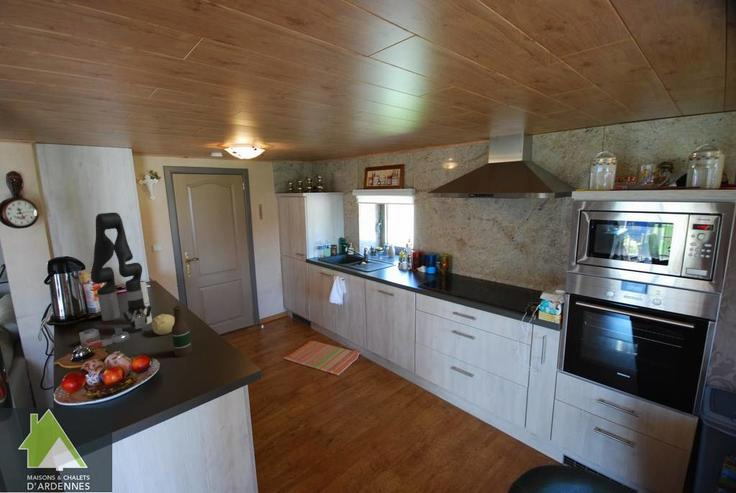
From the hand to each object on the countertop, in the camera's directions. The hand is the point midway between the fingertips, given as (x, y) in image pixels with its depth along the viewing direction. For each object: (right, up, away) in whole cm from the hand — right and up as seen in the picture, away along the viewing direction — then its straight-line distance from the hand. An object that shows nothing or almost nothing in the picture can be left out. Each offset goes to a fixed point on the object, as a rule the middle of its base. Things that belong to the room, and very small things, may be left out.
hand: (139, 325), depth 192 cm
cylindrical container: (-5, -1, +12) cm, 13 cm away
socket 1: (-16, -6, -14) cm, 22 cm away
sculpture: (+17, -3, -3) cm, 18 cm away
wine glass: (-7, -6, -16) cm, 19 cm away
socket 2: (0, -1, 0) cm, 1 cm away
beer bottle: (+41, -7, -28) cm, 51 cm away
